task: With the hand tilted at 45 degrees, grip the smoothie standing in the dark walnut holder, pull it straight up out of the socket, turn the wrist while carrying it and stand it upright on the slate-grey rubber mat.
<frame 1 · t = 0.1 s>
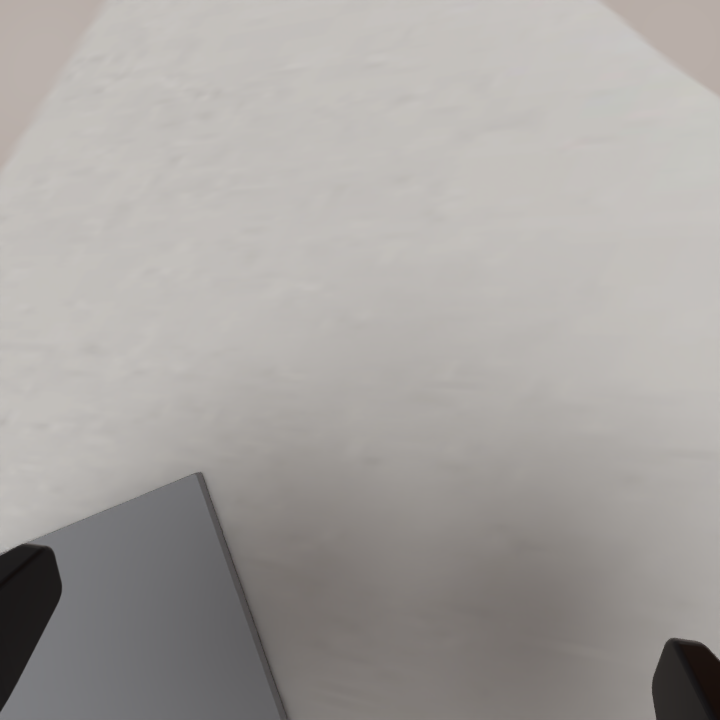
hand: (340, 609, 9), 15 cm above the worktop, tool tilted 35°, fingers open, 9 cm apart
slate mat: (105, 689, 24), on the worktop
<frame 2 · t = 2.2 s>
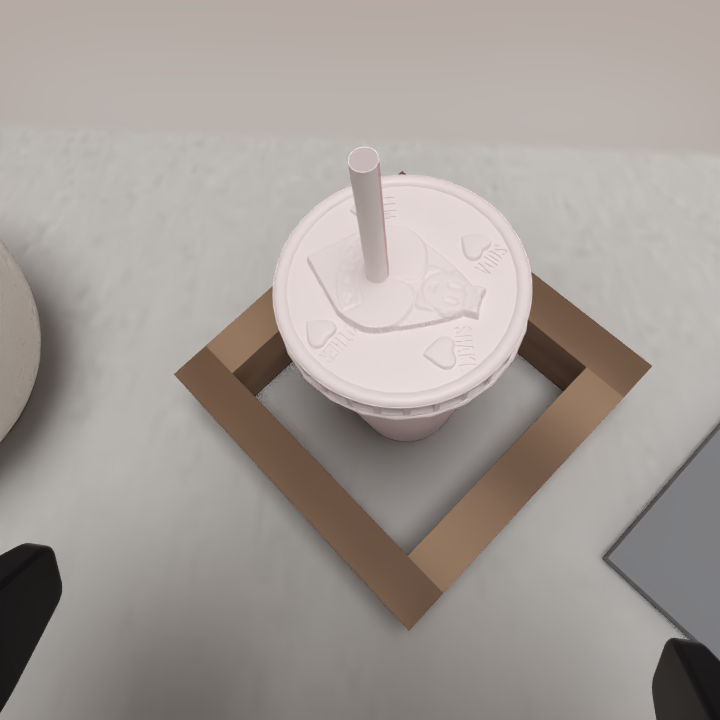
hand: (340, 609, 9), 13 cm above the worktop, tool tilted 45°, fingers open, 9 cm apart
smoothie: (406, 396, 24), resting in walnut holder
walnut holder: (406, 395, 24), on the worktop
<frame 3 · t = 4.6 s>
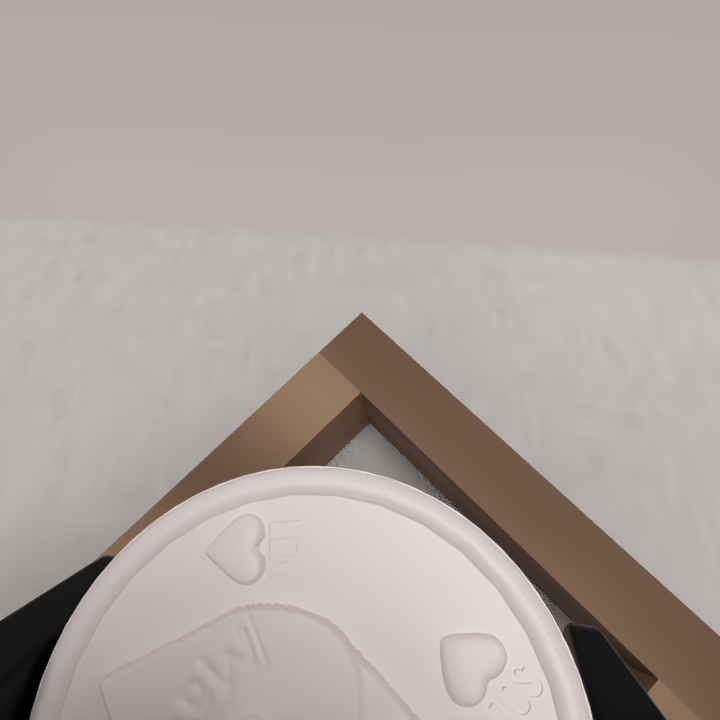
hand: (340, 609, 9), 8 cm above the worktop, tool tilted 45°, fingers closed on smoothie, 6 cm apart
smoothie: (368, 652, 16), resting in walnut holder, touching gripper
walnut holder: (367, 653, 15), on the worktop
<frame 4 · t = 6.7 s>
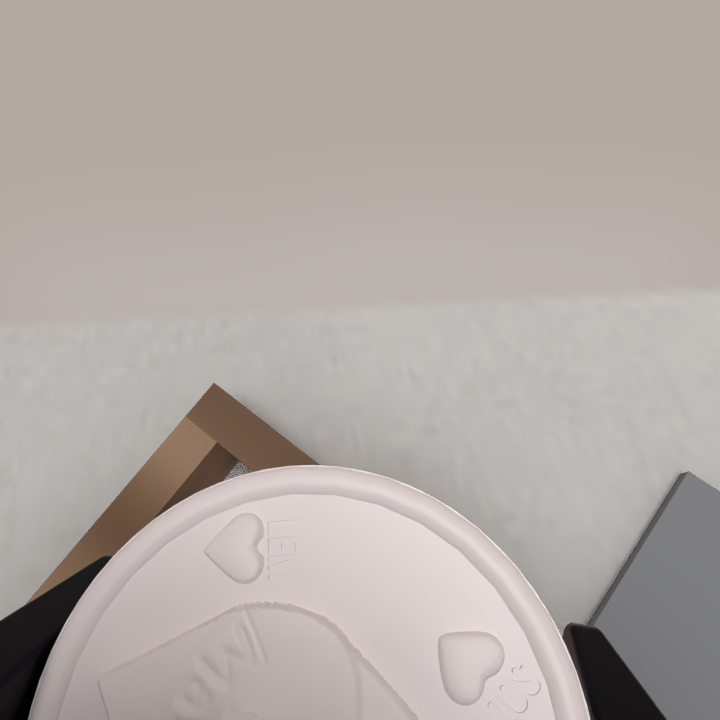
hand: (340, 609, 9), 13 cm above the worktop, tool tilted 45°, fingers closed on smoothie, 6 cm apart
smoothie: (365, 650, 16), point 5 cm above the worktop, touching gripper
walnut holder: (252, 628, 21), on the worktop
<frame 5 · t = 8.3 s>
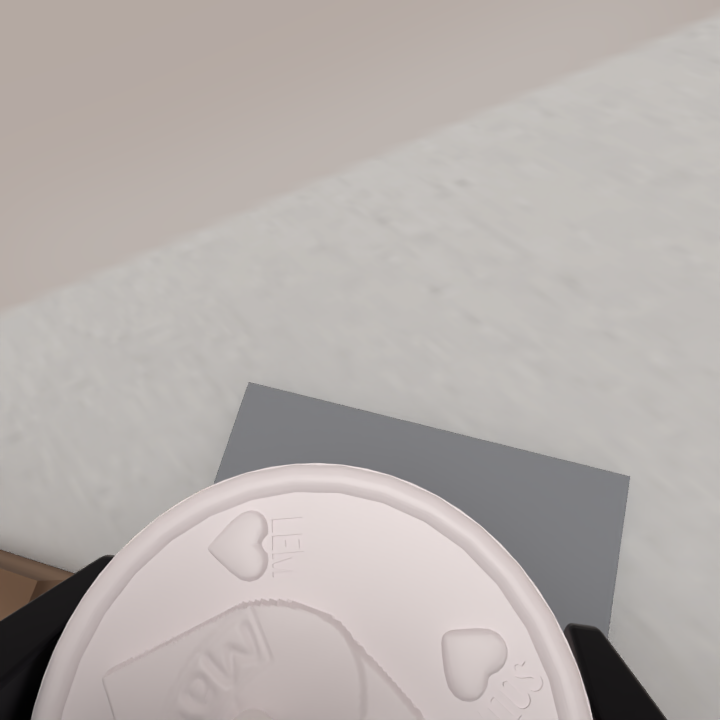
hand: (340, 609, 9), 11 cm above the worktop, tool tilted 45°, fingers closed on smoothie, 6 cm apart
smoothie: (362, 647, 16), point 3 cm above the worktop, touching gripper
slate mat: (380, 628, 19), on the worktop
when the fingers open (9 cm above the worktop, at t = 9.2 s): smoothie stays where it is, resting on slate mat.
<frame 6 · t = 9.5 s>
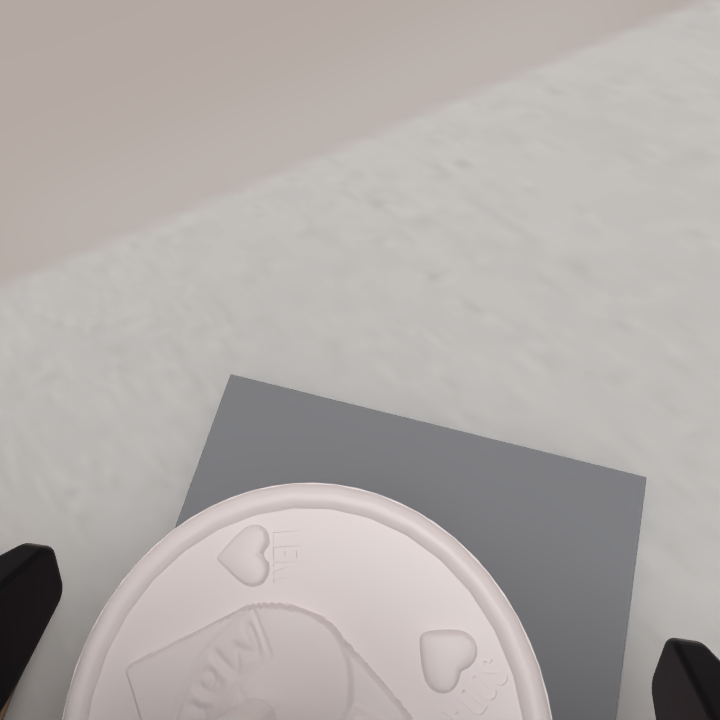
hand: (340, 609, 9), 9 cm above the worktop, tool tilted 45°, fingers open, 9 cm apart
smoothie: (363, 648, 17), resting on slate mat
slate mat: (371, 644, 17), on the worktop
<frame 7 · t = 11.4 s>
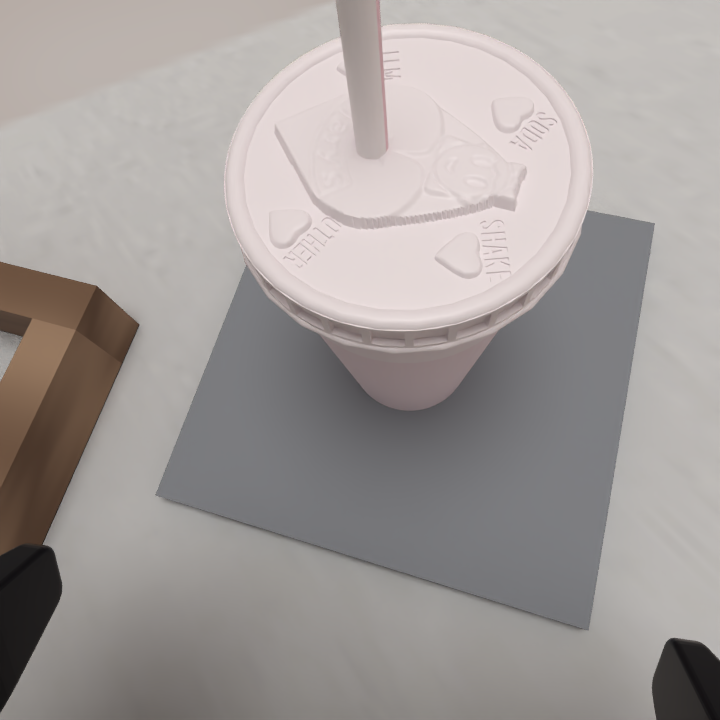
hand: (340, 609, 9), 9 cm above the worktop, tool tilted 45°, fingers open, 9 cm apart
smoothie: (409, 357, 19), resting on slate mat
slate mat: (415, 359, 20), on the worktop
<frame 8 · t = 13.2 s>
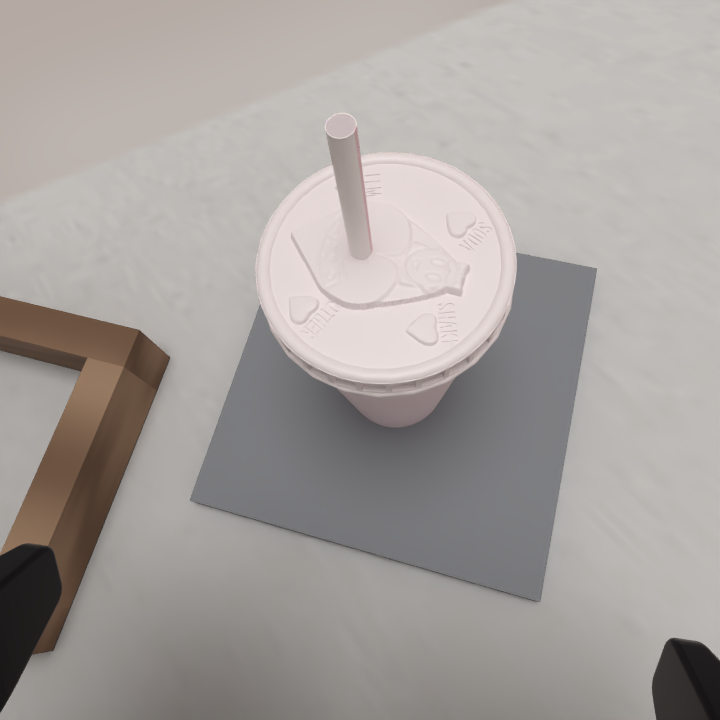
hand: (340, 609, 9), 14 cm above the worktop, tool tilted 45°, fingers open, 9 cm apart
smoothie: (396, 382, 24), resting on slate mat
slate mat: (401, 384, 24), on the worktop
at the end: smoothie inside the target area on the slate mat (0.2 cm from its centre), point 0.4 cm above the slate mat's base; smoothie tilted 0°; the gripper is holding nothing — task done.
